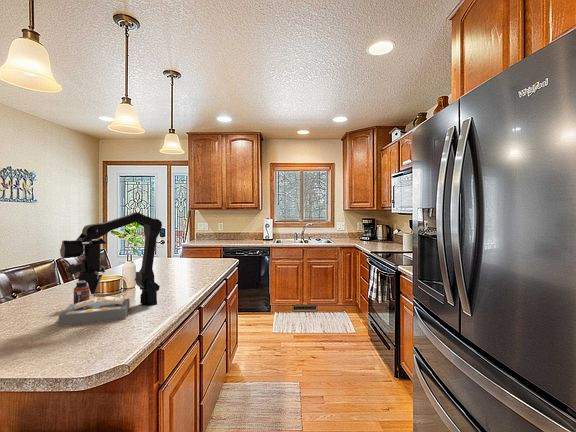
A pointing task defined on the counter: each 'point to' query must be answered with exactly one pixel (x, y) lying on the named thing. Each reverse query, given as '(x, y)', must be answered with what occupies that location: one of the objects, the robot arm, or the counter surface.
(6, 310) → the counter surface
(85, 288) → the supplement bottle
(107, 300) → the block
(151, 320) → the counter surface
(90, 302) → the panel
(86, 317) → the console
